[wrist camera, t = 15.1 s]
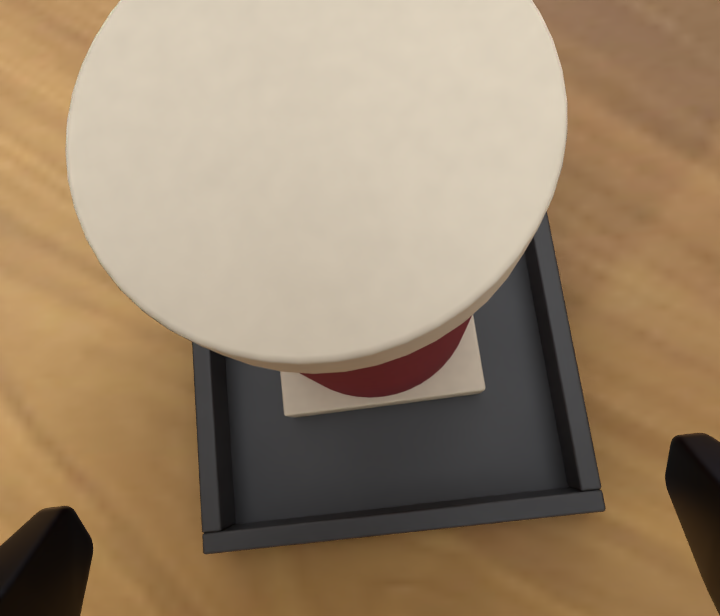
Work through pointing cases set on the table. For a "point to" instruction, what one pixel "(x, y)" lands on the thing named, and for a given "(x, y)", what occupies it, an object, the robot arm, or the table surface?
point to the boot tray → (406, 438)
